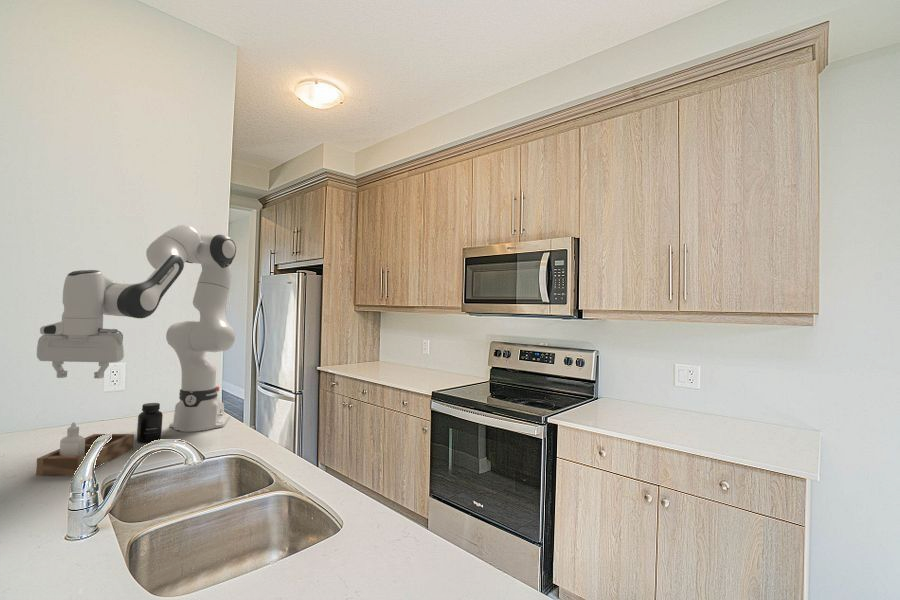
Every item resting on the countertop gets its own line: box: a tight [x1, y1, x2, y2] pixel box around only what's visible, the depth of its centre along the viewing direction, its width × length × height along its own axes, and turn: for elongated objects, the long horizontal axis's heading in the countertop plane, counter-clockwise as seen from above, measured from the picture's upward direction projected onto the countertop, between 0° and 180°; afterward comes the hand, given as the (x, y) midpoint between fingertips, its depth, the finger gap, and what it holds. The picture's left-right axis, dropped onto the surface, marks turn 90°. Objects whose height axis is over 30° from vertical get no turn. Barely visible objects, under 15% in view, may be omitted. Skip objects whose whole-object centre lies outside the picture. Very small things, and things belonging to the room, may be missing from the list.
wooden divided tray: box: [35, 433, 135, 476], centre depth 125 cm, size 22×12×5 cm, turn 7°
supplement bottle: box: [136, 402, 164, 444], centre depth 145 cm, size 7×7×12 cm
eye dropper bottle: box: [59, 421, 85, 457], centre depth 120 cm, size 4×6×12 cm
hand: (80, 377), depth 121 cm, fingers open, 8 cm apart
